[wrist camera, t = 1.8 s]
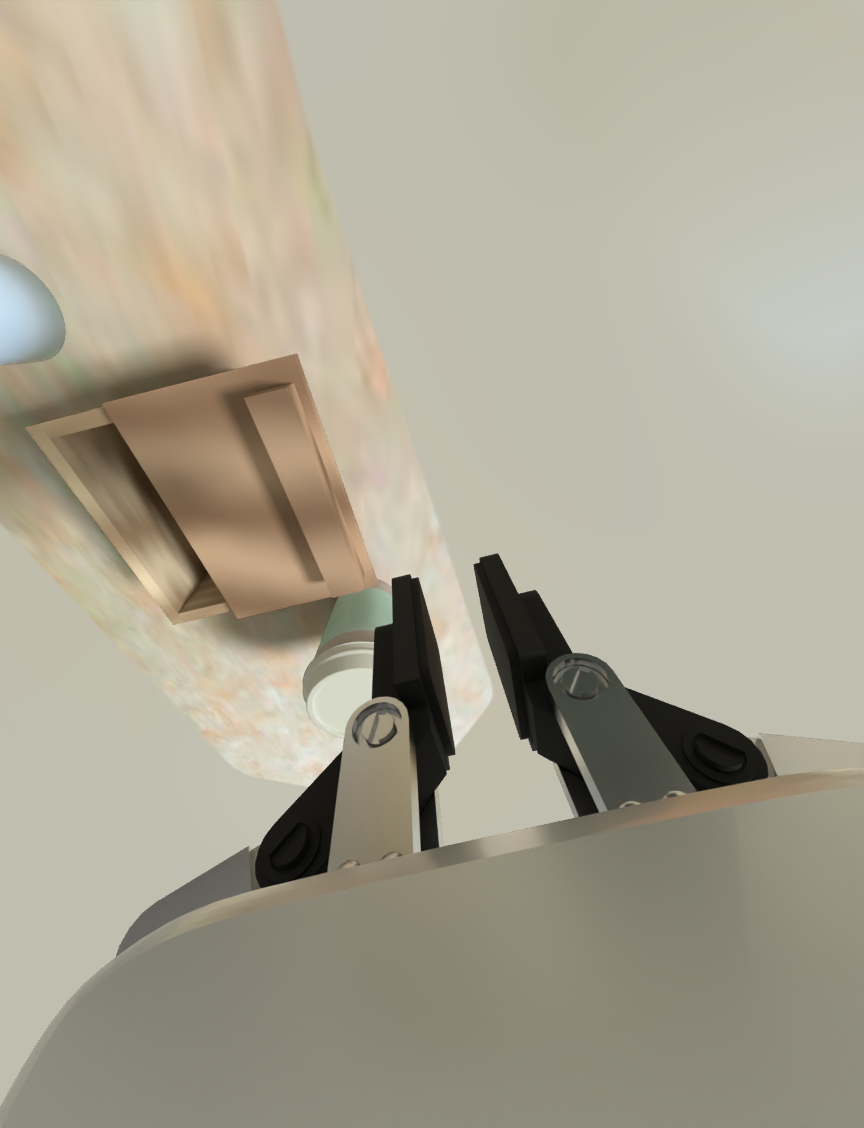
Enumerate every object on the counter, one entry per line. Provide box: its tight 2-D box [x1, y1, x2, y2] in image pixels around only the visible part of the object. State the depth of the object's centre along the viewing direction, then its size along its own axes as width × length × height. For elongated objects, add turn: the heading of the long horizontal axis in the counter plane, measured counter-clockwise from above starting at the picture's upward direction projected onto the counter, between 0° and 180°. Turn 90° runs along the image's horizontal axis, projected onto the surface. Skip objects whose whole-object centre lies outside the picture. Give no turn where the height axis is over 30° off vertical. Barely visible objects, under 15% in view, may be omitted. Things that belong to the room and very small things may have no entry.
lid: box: [102, 354, 377, 619], centre depth 23 cm, size 14×10×3 cm
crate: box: [25, 406, 232, 625], centre depth 27 cm, size 14×10×7 cm
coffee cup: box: [303, 580, 393, 738], centre depth 32 cm, size 9×8×12 cm
